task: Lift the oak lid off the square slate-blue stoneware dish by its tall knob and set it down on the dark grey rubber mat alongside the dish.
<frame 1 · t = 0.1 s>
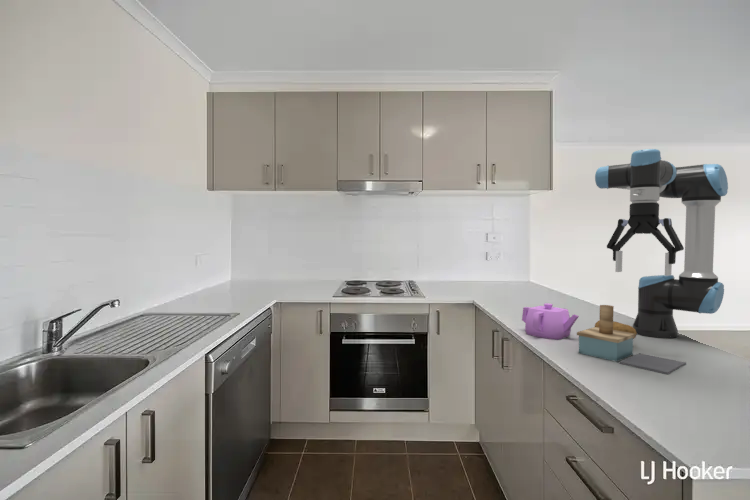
hand: (642, 273, 132), 28 cm above the worktop, tool pointing down, fingers open, 13 cm apart
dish: (605, 353, 145), on the worktop
lid: (605, 335, 145), point 6 cm above the worktop, touching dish
teakettle: (549, 335, 172), on the worktop
potato: (615, 344, 159), on the worktop
mat: (652, 363, 134), on the worktop
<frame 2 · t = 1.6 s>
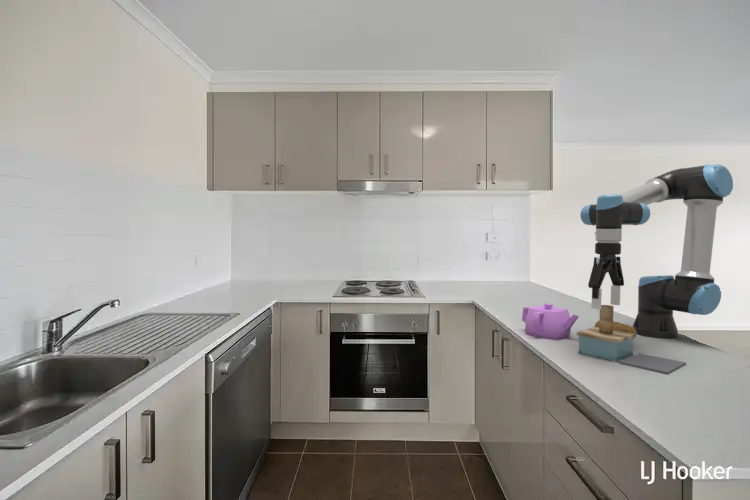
hand: (605, 306, 145), 16 cm above the worktop, tool pointing down, fingers open, 13 cm apart
nothing on the worktop moved.
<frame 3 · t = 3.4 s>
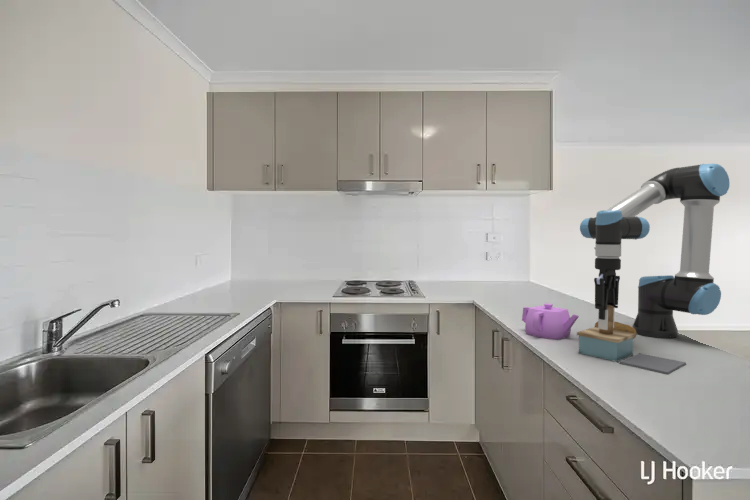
hand: (606, 328, 145), 9 cm above the worktop, tool pointing down, fingers closed on lid, 4 cm apart
lid: (605, 335, 145), point 6 cm above the worktop, touching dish, gripper
everything else where it was.
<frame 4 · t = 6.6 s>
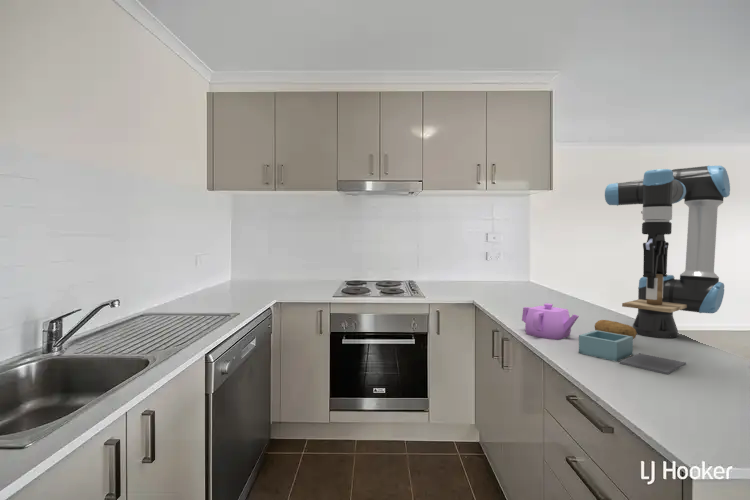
hand: (654, 298, 133), 20 cm above the worktop, tool pointing down, fingers closed on lid, 4 cm apart
lid: (654, 307, 134), point 18 cm above the worktop, touching gripper
everything else where it was.
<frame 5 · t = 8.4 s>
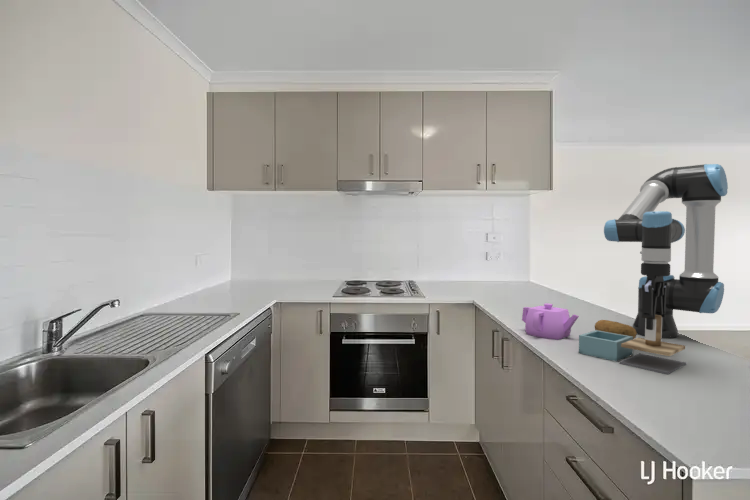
hand: (653, 338, 134), 8 cm above the worktop, tool pointing down, fingers closed on lid, 4 cm apart
lid: (652, 347, 134), point 5 cm above the worktop, touching gripper
everything else where it was.
when the fingers open (5 cm above the worktop, at t = 9.9 s): lid drops 1 cm, resting on mat.
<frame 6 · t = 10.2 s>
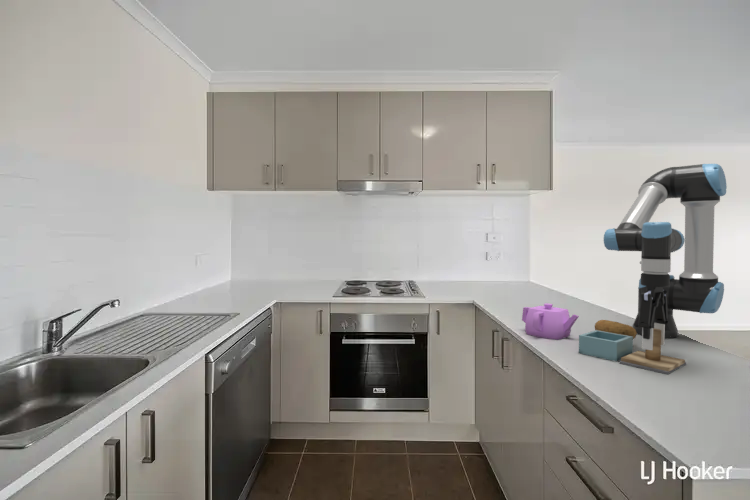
hand: (653, 346, 134), 5 cm above the worktop, tool pointing down, fingers open, 8 cm apart
lid: (652, 361, 134), point 1 cm above the worktop, touching mat
everything else where it was.
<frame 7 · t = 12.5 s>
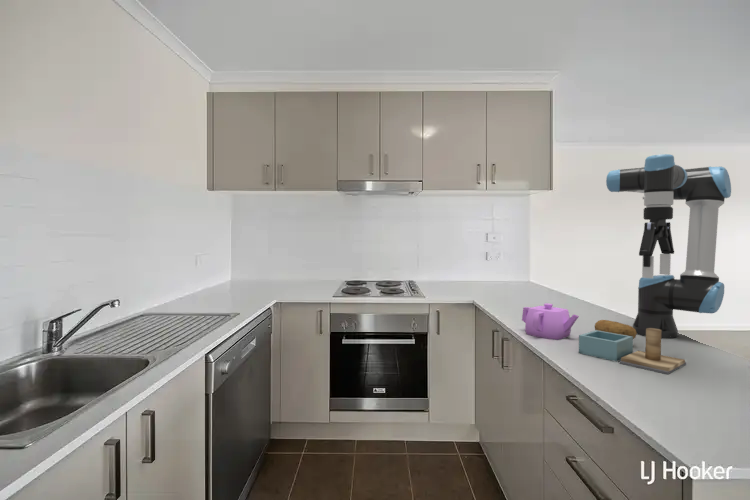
hand: (656, 276, 134), 27 cm above the worktop, tool pointing down, fingers open, 13 cm apart
nothing on the worktop moved.
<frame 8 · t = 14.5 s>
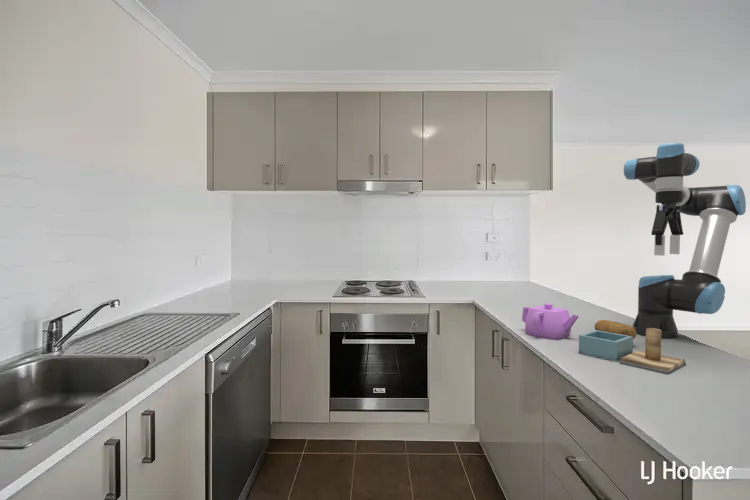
hand: (667, 254, 147), 33 cm above the worktop, tool pointing down, fingers open, 13 cm apart
nothing on the worktop moved.
at the end: lid inside the target area on the mat (0.1 cm from its centre), point 0.6 cm above the mat's base; lid touching mat; lid tilted 0° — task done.
